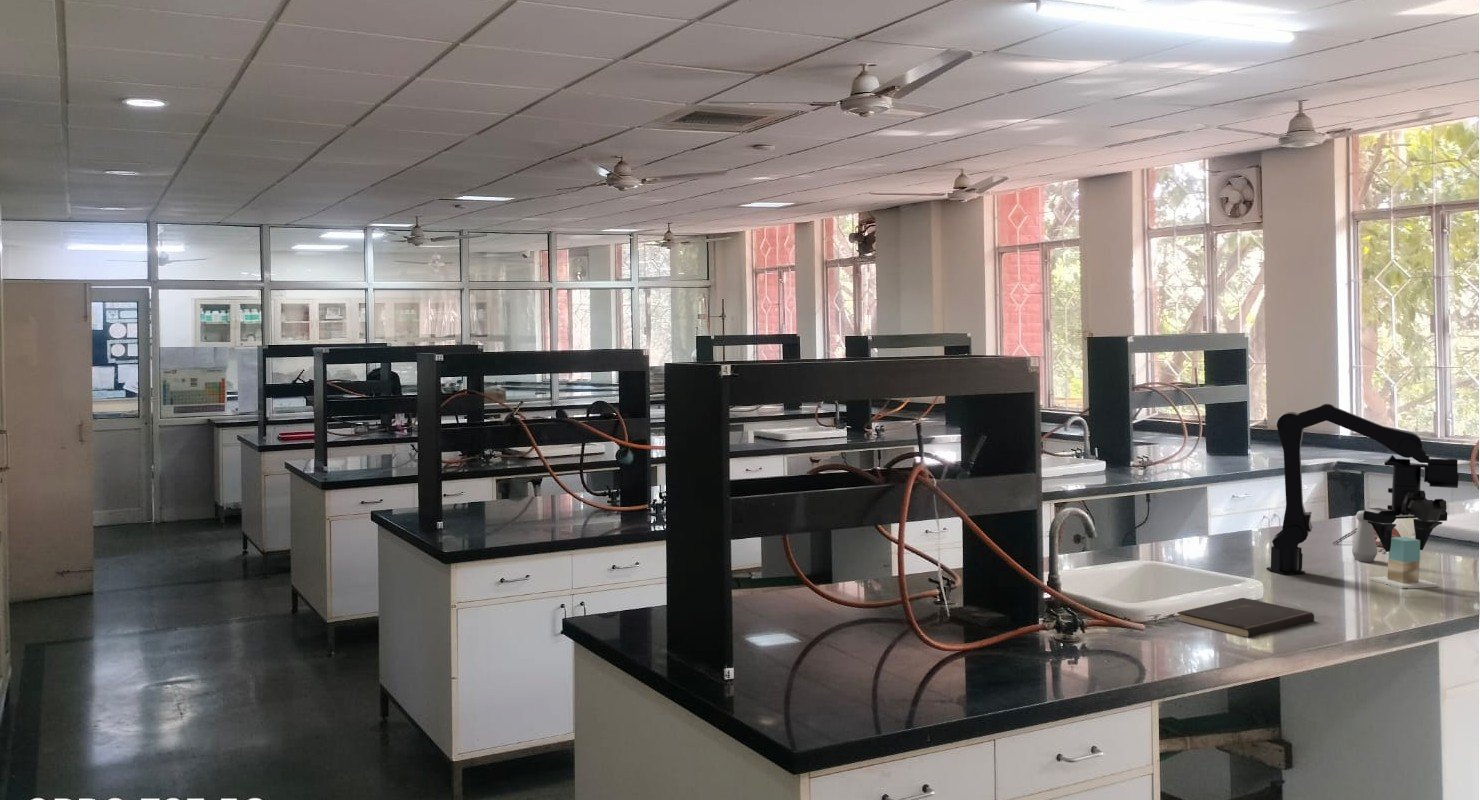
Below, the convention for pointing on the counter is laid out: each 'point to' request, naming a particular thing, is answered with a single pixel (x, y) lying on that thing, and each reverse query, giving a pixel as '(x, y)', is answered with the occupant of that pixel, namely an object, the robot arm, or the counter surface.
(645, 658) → the counter surface
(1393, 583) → the plate
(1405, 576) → the brick
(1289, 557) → the robot arm
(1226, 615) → the hardcover book
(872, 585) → the counter surface
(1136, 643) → the counter surface
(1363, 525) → the salt shaker
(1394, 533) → the anatomical diagram
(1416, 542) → the brick
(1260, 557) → the counter surface
